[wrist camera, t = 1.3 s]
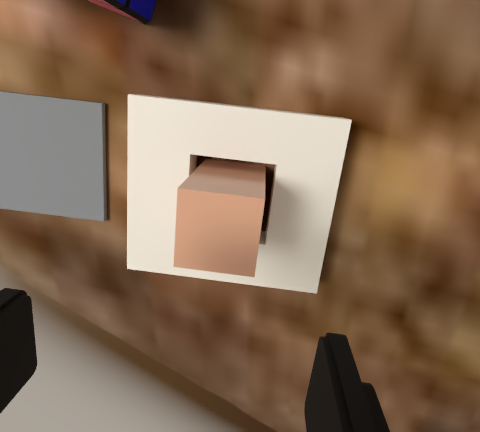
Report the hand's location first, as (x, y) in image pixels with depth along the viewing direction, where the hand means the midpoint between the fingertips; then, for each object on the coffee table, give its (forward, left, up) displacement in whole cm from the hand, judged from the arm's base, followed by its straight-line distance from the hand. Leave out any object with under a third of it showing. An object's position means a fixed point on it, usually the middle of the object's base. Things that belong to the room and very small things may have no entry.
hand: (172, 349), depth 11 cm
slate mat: (+16, -1, -20) cm, 26 cm away
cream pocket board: (0, 0, -20) cm, 20 cm away
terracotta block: (0, 0, -20) cm, 20 cm away
